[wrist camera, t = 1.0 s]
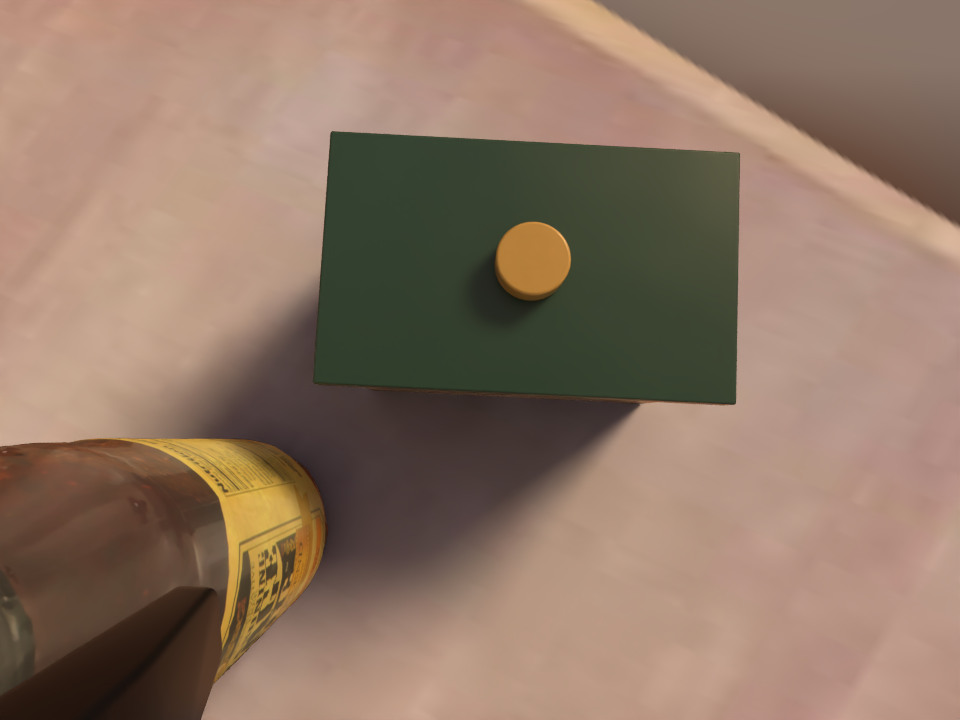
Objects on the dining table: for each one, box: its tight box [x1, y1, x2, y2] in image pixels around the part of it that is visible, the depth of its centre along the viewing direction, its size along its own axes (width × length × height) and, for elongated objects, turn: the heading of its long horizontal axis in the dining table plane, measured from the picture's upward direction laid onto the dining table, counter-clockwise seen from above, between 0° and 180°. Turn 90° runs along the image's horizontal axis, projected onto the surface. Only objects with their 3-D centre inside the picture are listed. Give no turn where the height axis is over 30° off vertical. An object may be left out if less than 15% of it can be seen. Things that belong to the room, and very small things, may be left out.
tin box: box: [313, 131, 740, 405], centre depth 20 cm, size 6×10×9 cm, turn 87°
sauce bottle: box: [0, 438, 328, 696], centre depth 14 cm, size 6×6×20 cm
